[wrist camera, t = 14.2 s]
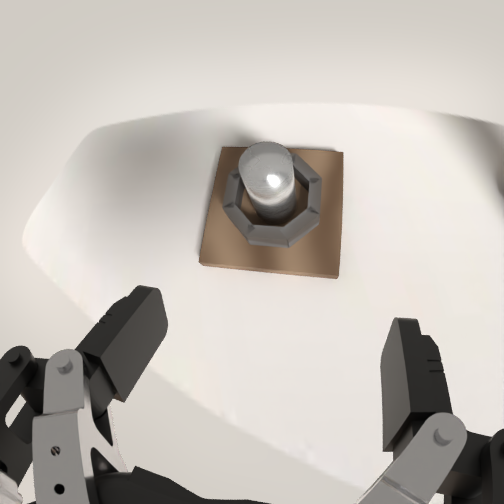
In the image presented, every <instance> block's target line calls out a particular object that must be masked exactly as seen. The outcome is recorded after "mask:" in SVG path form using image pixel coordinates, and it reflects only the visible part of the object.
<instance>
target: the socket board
mask: <svg viewBox="0 0 504 504" xmlns="http://www.w3.org/2000/svg"><path fill="white" fill-rule="evenodd" d="M248 148H249V147H222V151H221V155H220V159H219V164H218V168H217V173H216V177H215V182H214V187H213V192H212V196H211V201H210V206H209V211H208V216H207V221H206V226H205V231H204V236H203V241H202V247H201V252H200V257H199V263H200V264H202V265H203V266H211V267H220V268H230V269H239V270H249V271H259V272H269V273H279V274H289V275H300V276H310V277H321V278H332V279H337V278H338V276H339V265H340V250H341V232H342V208H343V152H335V151H322V150H307V149H289V148H286V149H287V150H288V151H289V152H290V154H291V157H292V162H293V171H294V180H295V189H296V199H297V208H296V211H295V214H294V215H293V216H292V218H291V219H289V220H288V221H286V222H284V223H282V224H268V223H266V222H264V221H262V220H261V219H260V218H259V217H258V216H257V214H256V212H255V209H254V207H253V204H252V202H251V199H250V197H249V194H248V192H247V189H246V187H245V184H244V182H243V180H242V177H241V175H240V172H239V167H238V166H239V160H240V157H241V155H242V154H243V153H244V151H245V150H246V149H248Z"/></svg>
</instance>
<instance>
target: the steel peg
mask: <svg viewBox="0 0 504 504" xmlns="http://www.w3.org/2000/svg"><path fill="white" fill-rule="evenodd" d="M238 167H239V172H240V175H241V177H242V180H243V182H244V184H245V187H246V189H247V192H248V194H249V197H250V199H251V202H252V204H253V207H254V209H255V212H256V214H257V216H258V217H259V218H260V219H261V220H262V221H264V222H266V223H268V224H282V223H284V222H286V221H288V220H289V219H291V218H292V216H293V215H294V214H295V211H296V208H297V199H296V189H295V180H294V171H293V162H292V157H291V154H290V152H289V151H288V150H287V149H286V148H285V147H284V146H282V145H280V144H278V143H275V142H260V143H257V144H254V145H252V146H250V147H249V148H248V149H246V150H245V151H244V153H243V154H242V155H241V157H240V160H239V166H238Z"/></svg>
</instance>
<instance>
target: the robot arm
mask: <svg viewBox="0 0 504 504" xmlns="http://www.w3.org/2000/svg"><path fill="white" fill-rule="evenodd" d="M167 328H168V321H167V316H166V312H165V308H164V304H163V299H162V295H161V292H160V290H159V289H158V288H153V287H147V286H142V285H139V286H137V287H136V288H135V289H134V290H133V291H132V292H131V293H130V295H129V296H128V297H126V296H125V297H124V298H122V299H120V300H119V301H117V302H116V303H114V304H113V305H112V306H111V307H110V308H109V310H108V311H107V312H106V314H105V315H103V317H102V318H101V319H100V320H99V323H98V322H97V324H96V325H95V326H94V327H93V328H92V330H91V331H90V332H89V333H88V334H87V335H86V337H85V338H84V339H83V340H82V341H81V343H80V344H79V345H78V346H77V347H76V349H75V350H72V349H66V350H61V351H59V352H57V353H55V354H54V355H53V356H52V357H51V358H50V359H42V358H34V357H33V355H32V353H31V352H30V350H29V349H28V348H27V347H25V346H16V347H13V348H12V349H10V350H9V351H7V352H6V353H5V354H4V356H3V357H2V358H1V359H0V504H22V502H23V497H22V495H21V494H20V493H18V487H19V485H20V483H21V481H22V479H23V477H24V475H25V474H26V472H27V470H28V468H29V466H30V464H31V463H32V461H33V473H34V487H35V496H36V501H34V502H31V503H29V504H269V503H263V502H257V501H252V500H217V499H204V498H201V497H199V496H197V495H196V494H194V493H192V492H190V491H189V490H186V489H185V488H184V487H182V486H180V485H179V484H177V483H175V482H174V481H172V480H171V479H169V478H166V477H163V476H160V475H158V474H155V473H152V472H150V471H147V470H145V469H142V468H140V467H137V466H135V467H134V469H133V471H132V473H131V472H128V470H127V468H126V465H125V463H124V461H123V459H122V457H121V455H120V452H119V449H118V444H117V439H116V434H115V428H114V422H113V416H112V411H111V406H110V405H109V404H110V402H111V401H112V399H116V400H119V401H121V402H125V401H126V399H127V397H128V396H129V394H130V392H131V391H132V389H133V388H134V385H135V384H136V382H137V381H138V379H139V378H140V376H141V374H142V373H143V371H144V370H145V368H146V366H147V365H148V363H149V361H150V360H151V358H152V357H153V355H154V353H155V352H156V350H157V349H158V347H159V345H160V344H161V342H162V341H163V339H164V337H165V335H166V333H167ZM380 368H381V385H382V411H383V452H393V462H392V463H391V464H390V465H389V466H388V468H387V469H386V470H385V471H384V472H383V473H382V474H381V476H380V477H379V478H378V479H377V480H376V481H375V482H374V483H373V484H372V486H371V487H370V488H369V489H368V490H367V491H366V492H365V493H364V494H363V495H362V496H361V497H360V498H359V499H358V500H357V501H356V502H355V503H354V504H428V503H429V502H430V500H431V498H432V497H433V496H434V494H435V493H439V494H444V504H504V429H501V430H499V431H498V432H497V433H496V434H495V435H494V436H493V437H489V436H485V435H481V434H476V433H472V432H469V431H467V430H466V428H465V426H464V424H463V422H462V421H461V420H460V419H459V418H458V417H456V416H455V415H453V412H452V407H451V402H450V397H449V392H448V387H447V382H446V378H445V373H443V371H444V369H443V365H442V362H441V356H440V353H439V349H438V346H437V345H436V343H435V342H434V341H433V339H432V338H431V337H430V335H421V331H420V327H419V323H418V320H417V319H411V318H394V320H393V322H392V325H391V328H390V331H389V334H388V337H387V340H386V343H385V346H384V348H383V352H382V356H381V366H380ZM20 394H21V396H22V397H23V398H24V399H25V401H26V403H25V404H24V406H23V408H22V409H21V410H20V412H19V414H18V415H17V417H16V418H15V420H14V421H13V423H12V424H11V426H10V427H9V428H8V427H7V425H6V422H5V417H6V414H7V412H8V411H9V410H10V408H11V406H12V405H13V404H14V402H15V401H16V399H17V398H18V396H19V395H20Z"/></svg>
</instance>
